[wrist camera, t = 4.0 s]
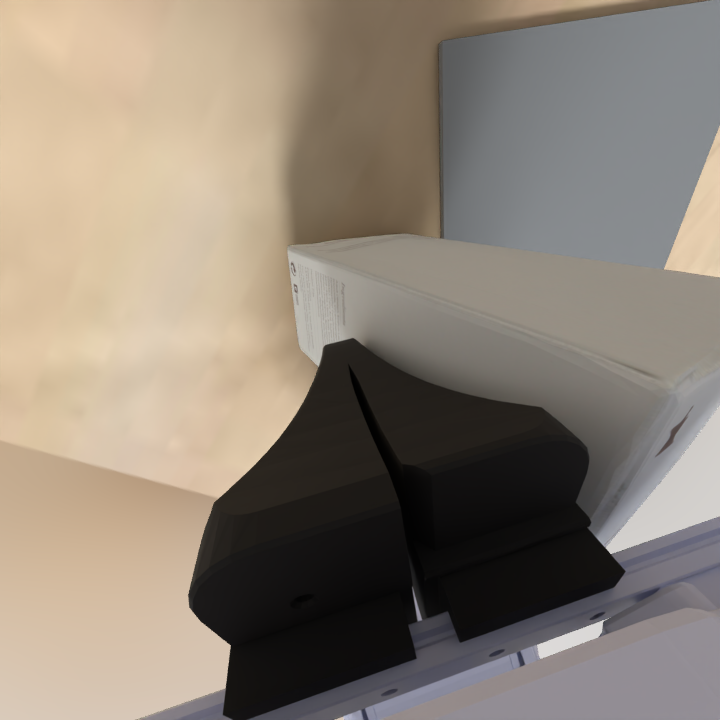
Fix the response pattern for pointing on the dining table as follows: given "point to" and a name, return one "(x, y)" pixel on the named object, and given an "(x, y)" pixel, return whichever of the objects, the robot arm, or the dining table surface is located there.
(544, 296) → the skincare box
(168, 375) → the dining table surface
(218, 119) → the dining table surface
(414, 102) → the dining table surface
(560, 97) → the mat
